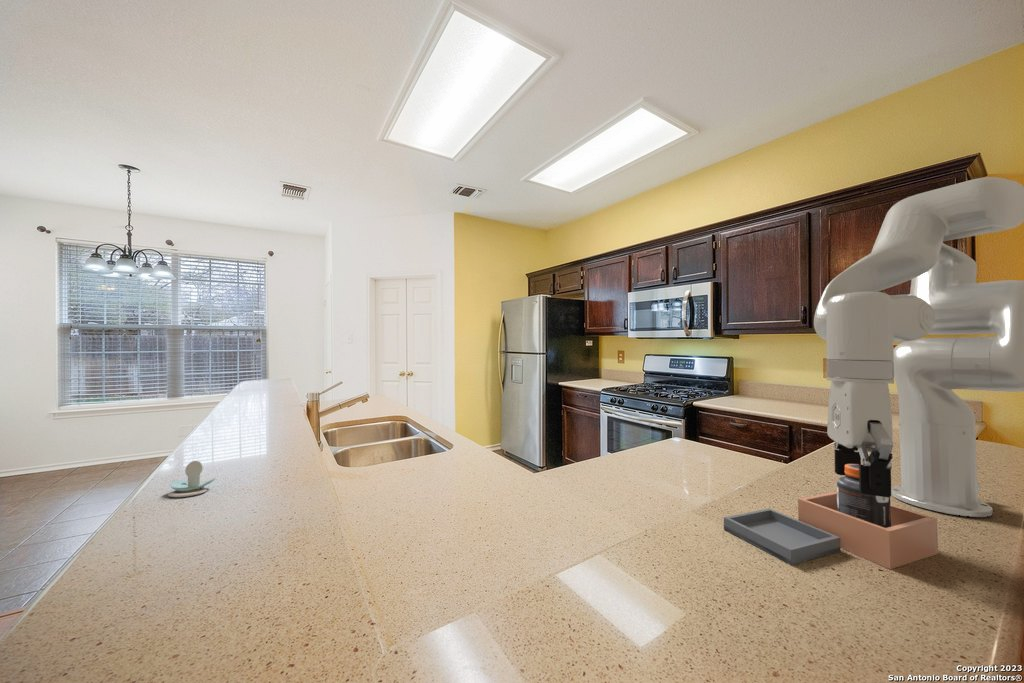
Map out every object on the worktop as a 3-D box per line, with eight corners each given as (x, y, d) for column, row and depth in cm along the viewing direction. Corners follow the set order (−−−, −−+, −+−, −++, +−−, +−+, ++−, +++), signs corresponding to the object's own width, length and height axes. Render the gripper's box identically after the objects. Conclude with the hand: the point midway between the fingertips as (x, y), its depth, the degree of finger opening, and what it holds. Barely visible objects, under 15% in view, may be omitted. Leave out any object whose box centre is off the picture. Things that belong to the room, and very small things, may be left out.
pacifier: (201, 498, 73) (219, 486, 79) (201, 467, 73) (219, 457, 79) (158, 501, 71) (179, 488, 77) (158, 469, 71) (180, 459, 77)
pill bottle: (903, 554, 52) (901, 474, 52) (855, 549, 53) (853, 471, 54) (871, 533, 58) (869, 462, 58) (828, 529, 59) (827, 459, 59)
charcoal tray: (769, 519, 63) (769, 508, 63) (840, 551, 53) (840, 537, 53) (723, 529, 59) (723, 517, 59) (791, 565, 49) (790, 550, 49)
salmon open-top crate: (843, 519, 63) (843, 490, 63) (938, 553, 52) (937, 518, 52) (798, 529, 59) (797, 498, 59) (890, 569, 48) (889, 531, 49)
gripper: (811, 370, 66) (812, 466, 65) (849, 373, 50) (851, 499, 49) (866, 372, 62) (867, 472, 62) (925, 375, 47) (928, 510, 46)
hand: (860, 484), depth 56 cm, fingers open, 9 cm apart
